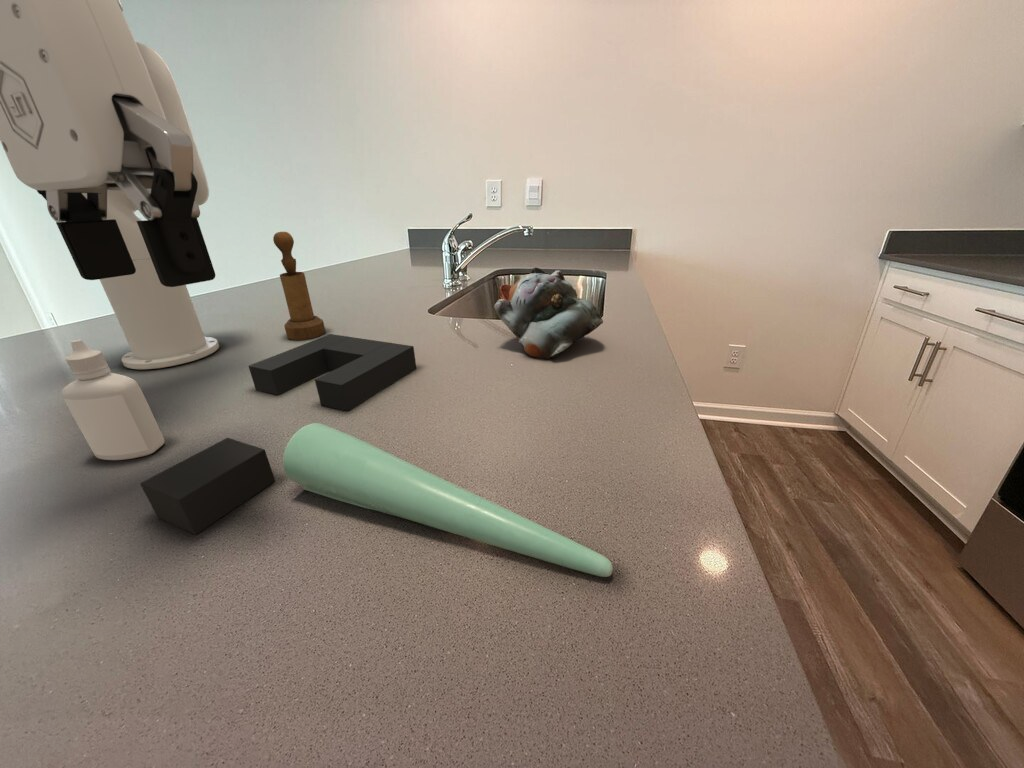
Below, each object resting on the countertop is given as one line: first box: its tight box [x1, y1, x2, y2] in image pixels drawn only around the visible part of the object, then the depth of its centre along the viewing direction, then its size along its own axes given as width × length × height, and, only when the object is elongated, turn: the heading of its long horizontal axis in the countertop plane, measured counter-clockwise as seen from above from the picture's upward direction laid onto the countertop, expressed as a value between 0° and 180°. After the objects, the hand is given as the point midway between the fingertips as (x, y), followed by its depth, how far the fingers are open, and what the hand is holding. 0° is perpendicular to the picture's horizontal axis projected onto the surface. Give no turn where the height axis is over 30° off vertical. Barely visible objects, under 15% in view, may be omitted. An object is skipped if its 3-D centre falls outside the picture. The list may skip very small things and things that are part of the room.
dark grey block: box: [139, 437, 276, 535], centre depth 34 cm, size 5×7×4 cm
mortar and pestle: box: [273, 231, 326, 341], centre depth 72 cm, size 7×6×18 cm
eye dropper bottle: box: [61, 339, 165, 461], centre depth 39 cm, size 4×6×12 cm
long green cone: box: [282, 422, 614, 578], centre depth 31 cm, size 5×6×27 cm
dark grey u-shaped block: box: [247, 333, 417, 412], centre depth 56 cm, size 16×14×4 cm
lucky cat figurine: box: [493, 267, 604, 360], centre depth 66 cm, size 15×12×14 cm
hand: (148, 279), depth 29 cm, fingers open, 9 cm apart
